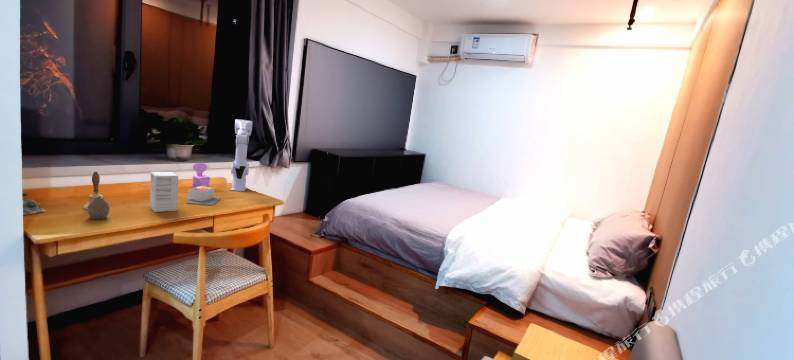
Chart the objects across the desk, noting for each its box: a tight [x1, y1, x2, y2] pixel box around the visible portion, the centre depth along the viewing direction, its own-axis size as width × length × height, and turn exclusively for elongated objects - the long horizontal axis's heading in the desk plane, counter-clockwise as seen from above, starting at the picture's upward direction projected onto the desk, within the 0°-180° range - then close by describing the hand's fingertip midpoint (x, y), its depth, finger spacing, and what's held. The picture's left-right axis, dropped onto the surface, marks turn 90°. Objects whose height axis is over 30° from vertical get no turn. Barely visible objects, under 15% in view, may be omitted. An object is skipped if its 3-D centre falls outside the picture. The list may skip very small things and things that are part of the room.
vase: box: [86, 196, 111, 220], centre depth 141 cm, size 7×7×9 cm
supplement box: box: [149, 171, 179, 213], centre depth 162 cm, size 10×9×17 cm
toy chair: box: [190, 162, 211, 188], centre depth 205 cm, size 8×9×15 cm
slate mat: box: [186, 197, 221, 206], centre depth 184 cm, size 14×12×1 cm
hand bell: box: [82, 171, 104, 210], centre depth 151 cm, size 8×8×16 cm
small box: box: [187, 186, 215, 202], centre depth 186 cm, size 8×6×10 cm
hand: (239, 178), depth 201 cm, fingers closed
